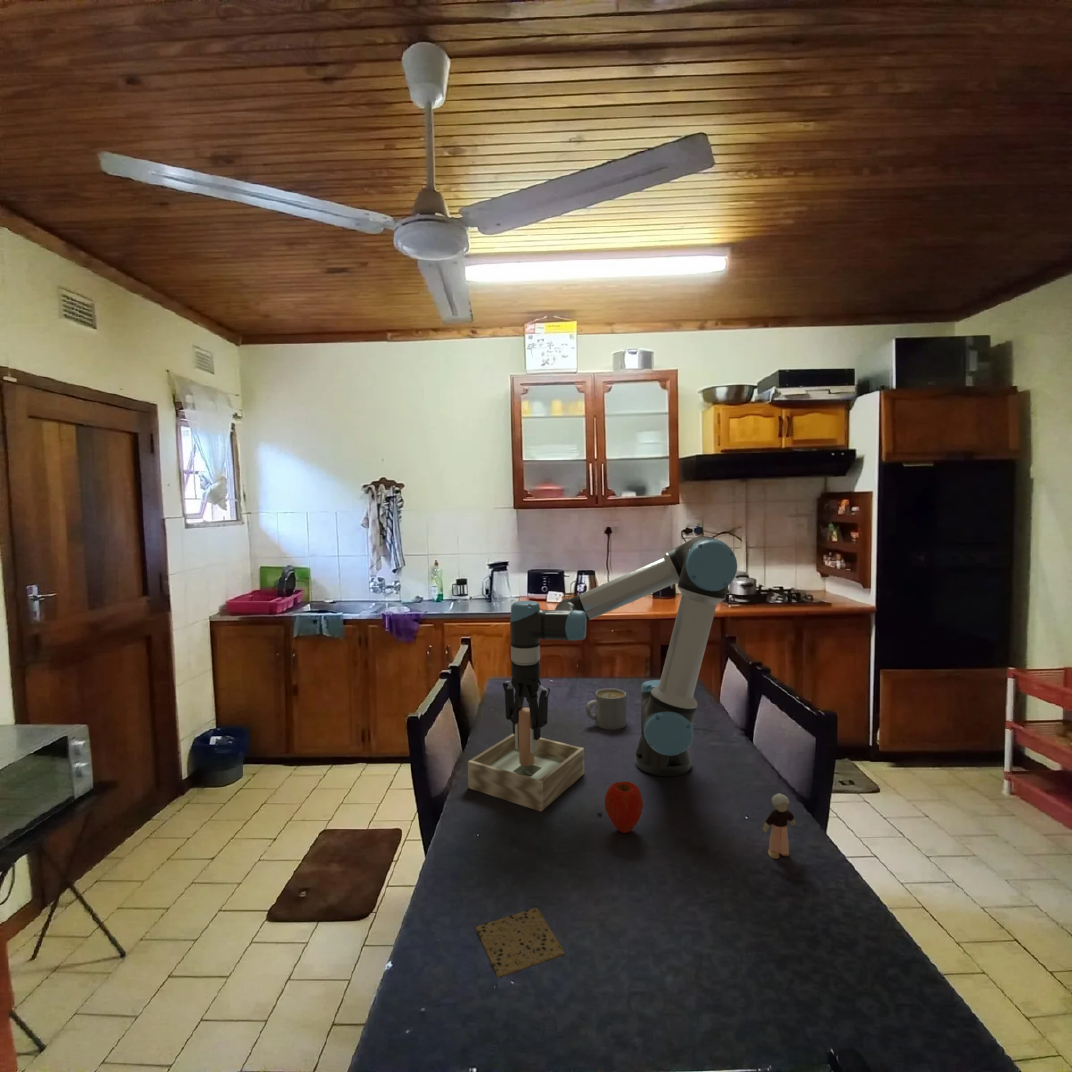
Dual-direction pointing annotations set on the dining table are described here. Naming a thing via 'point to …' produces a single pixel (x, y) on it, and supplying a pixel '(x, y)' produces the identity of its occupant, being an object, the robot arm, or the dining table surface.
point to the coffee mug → (608, 708)
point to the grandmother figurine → (779, 826)
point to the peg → (525, 738)
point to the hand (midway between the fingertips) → (526, 748)
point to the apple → (624, 805)
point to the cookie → (518, 942)
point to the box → (526, 772)
